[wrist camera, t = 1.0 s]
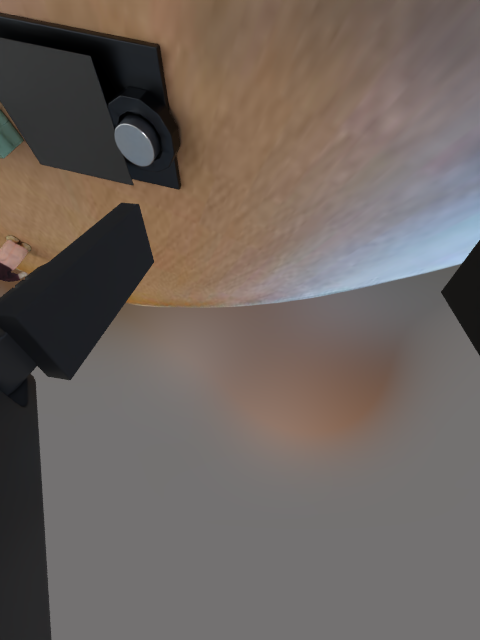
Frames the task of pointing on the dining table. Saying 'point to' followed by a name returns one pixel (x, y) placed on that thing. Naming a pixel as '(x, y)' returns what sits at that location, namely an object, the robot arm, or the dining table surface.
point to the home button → (137, 140)
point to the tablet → (116, 83)
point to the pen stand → (8, 136)
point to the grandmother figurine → (12, 259)
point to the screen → (60, 109)
